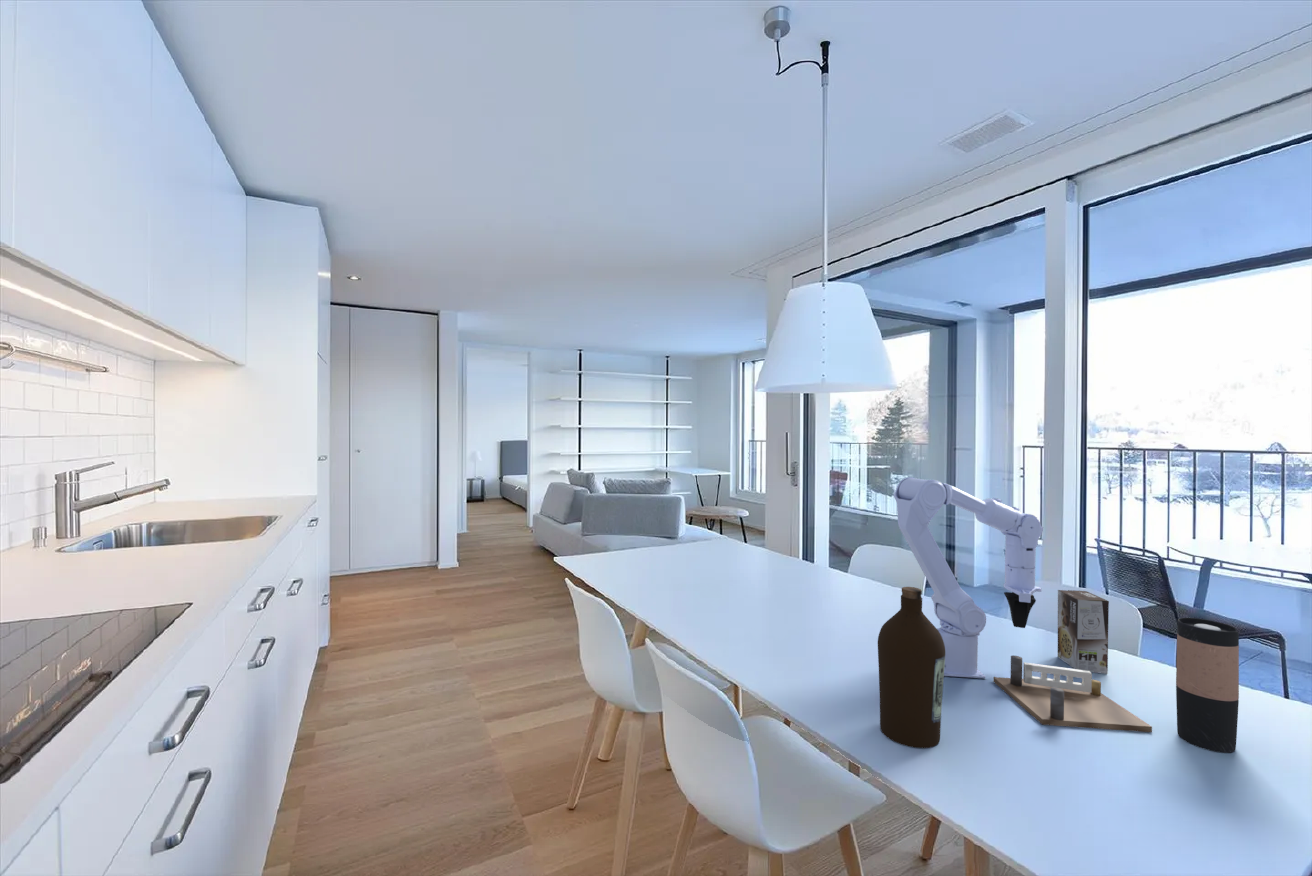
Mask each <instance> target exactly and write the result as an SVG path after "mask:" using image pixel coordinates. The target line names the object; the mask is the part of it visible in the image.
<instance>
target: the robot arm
mask: <svg viewBox="0 0 1312 876" xmlns="http://www.w3.org/2000/svg"><path fill="white" fill-rule="evenodd" d="M893 498H894V500H895V501H896V511H897V513H896V514H897V525H898V528H899V530H900V532H901V534H902V536H903V538H904V540H905V541H906V543H907V546H909V549H910V550H911V552H912V554H913V556H914V558H915V560H916V562H917V564H918V565H919V568H920V569H921V571H922V573H923V574H924V577H925V578H926V580H927V582H928V584H929V586H930V588H931V590H932V591H933V594H931V597H930V599H931V601H932V603H933V607H934V608H933V609H934V614H935V616H936V618H937V619H938V620H939V625H940V627H938V628H936V629H937V630H938V631H939V632H940V634H941V636H942V638H943V642H944V645H945V667H944V677H958V678H972V679H973V678H974V679H986V675H985V674H984V673H983V672H982V671H980V670H979V669H978V656H979V655H978V652H979V651H978V648H979V647H978V645H979V643H978V642H979V636H981V632H983V630H984V629H985V627H986V625H987V615H986V613H985V611H984V610H983V609H982V608H981V607H979V606H978V605H977V604H976V603H975V601H974V599H973V598H972V597H971V596H970V595H969V594H968V593H967V592H966V591H964V590H963V589H962V588H961V586H960V584H959V582H958V580H957V578H956V577H955V575H954V573H953V571H952V570H951V567H950V566H949V563H948V562H947V560H946V558H945V556H944V554H943V552H942V551H941V549H940V547H939V545H938V543H937V541H936V540H935V537H934V535H933V534H932V532H931V530H930V528H929V523H930V522H931V520H933V518H934V517H935V515H936V514H937V513H938V512H939V511H940V509H941V508H942V507H943V506H945V505H946V506H948V505H952V506H955V507H958V508H961V509H962V510H966V511H968V512H970V513H973V514H974V516H975V518H976V520H977V521H978V522H980V523H982V524H984V525H987V526H988V527H991V528H994V529H996V530H998V531H1000V532H1001V533H1002V535H1005V541H1004V542H1005V546H1004V547H1005V549H1004V583H1003V588H1004V589H1005V590H1008V591H1005V592H1003V594H1004V596H1005V598H1006V600H1007V604H1008V606H1009V611H1010V612H1009V613H1010V616H1011V621H1012V625H1013V627H1014V628H1020V629H1026V626H1027V623H1028V619H1029V615H1030V612H1031V611H1032V608H1033V606H1034V605H1035V603H1036V601H1037V600H1036V598H1035V595H1034V594H1035V593H1037V592H1039V593H1040V592H1042V588H1041V586H1036V550H1037V549H1036V548H1038V547H1037V546H1038V544H1039V539H1040V537H1041V536H1042V534H1043V532H1044V527H1043V526H1042V525H1041V522H1040V521H1039V519H1038V517H1036V516H1035V515H1034V514H1031V513H1025V512H1021V511H1020V508H1019V507H1016V506H1009V505H1006V504H1004V503H1002V501H1003V500H1002V499H1000V498H996V497H992V498H988V497H987V498H985V499H980V498H977V497H975V496H973V495H971V494H969V493H968V492H965V491H963V490H961V489H959V488H957V487H956V486H953V485H952V484H951V485H950V484H948V483H945V482H942V481H940V480H937V479H925V478H924V479H923V478H917V477H916V478H915V477H912V476H907V477H904V478H902V479H901V480H900V481H899V482H898V483H897V486H896V488H895V491H894V493H893Z"/></svg>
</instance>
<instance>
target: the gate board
mask: <svg viewBox="0 0 1312 876" xmlns="http://www.w3.org/2000/svg"><path fill="white" fill-rule="evenodd" d="M994 682H995V683H994ZM993 683H994V684H995V685H996V686H997V687H999V688H1000V689H1001V690H1002V691H1003V690H1004V691H1003V692H1004V693H1006V694H1007V695H1008V696H1009V697H1010V698H1011V697H1012V698H1013V701H1014V702H1016V703H1017V704H1018V705H1019V706H1020V707H1022V708H1023V710H1025V711H1026V712H1027V713H1028V714H1030V716H1032V718H1034V719H1035V720H1036V721H1038V722H1039V723H1040V724H1041V725H1042V726H1043V725H1044V726H1057V727H1071V728H1085V729H1097V730H1098V729H1099V730H1111V731H1113V730H1114V731H1130V732H1138V733H1139V732H1142V733H1153V726H1152V725H1150V724H1149V723H1147V721H1144V720H1143V719H1141V718H1140V717H1139V716H1136V715H1135V714H1134V713H1132V712H1131V711H1129V710H1128V709H1126V708H1124V707H1123V706H1121V705H1120V704H1118V703H1117V702H1115V701H1114V700H1112V699H1111V698H1110V697H1108V696H1106V695H1105V694H1103V693H1102V692H1101V691H1102V682H1101V681H1100V680H1097V679H1092V693H1090V692H1083V691H1076V690H1069V689H1062V688H1056V687H1049V686H1042V685H1035V684H1028V683H1025V682H1024V681H1023V657H1021V656H1019V655H1010V677H999V676H998V677H997V676H994V677H993ZM1078 683H1082V681H1081V682H1080V681H1078ZM1012 698H1011V699H1012Z"/></svg>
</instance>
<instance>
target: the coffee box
mask: <svg viewBox="0 0 1312 876" xmlns="http://www.w3.org/2000/svg"><path fill="white" fill-rule="evenodd" d="M1109 603H1110V601H1109V600H1108V599H1105V598H1102V597H1100V596H1098V595H1096V594H1095V593H1092V592H1089V591H1086V590H1072V589H1071V590H1070V589H1068V590H1065V589H1064V590H1063V589H1062V590H1061V589H1057V658H1059V659H1060V660H1062V661H1063V662H1064V663H1066V664H1067V665H1068V666H1069V667H1070V668H1072V669H1078V670H1086V671H1090V672H1091V673H1094V674H1096V673H1097V674H1105V675H1106V674H1108V671H1109V670H1108V667H1109V665H1108V664H1109V615H1110V614H1109V611H1110V610H1109V606H1110V604H1109Z"/></svg>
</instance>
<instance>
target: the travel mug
mask: <svg viewBox="0 0 1312 876" xmlns="http://www.w3.org/2000/svg"><path fill="white" fill-rule="evenodd" d="M1176 633H1177V634H1176V637H1177V639H1176V665H1175V668H1176V671H1175V694H1176V695H1175V696H1176V697H1175V698H1176V699H1175V700H1176V729H1177V736H1178V738H1180V739H1181V740H1183V741H1184V742H1186V743H1188V744H1190V745H1193V746H1195V747H1197V748H1201V749H1204V750H1207V751H1210V752H1216V753H1221V754H1223V753H1224V754H1229V753H1230V754H1231V753H1234V752H1235V751H1236V748H1237V738H1238V737H1237V734H1238V719H1239V716H1238V715H1239V702H1240V701H1239V698H1240V693H1239V692H1240V690H1239V689H1240V680H1239V679H1240V669H1239V667H1240V655H1239V654H1240V653H1239V651H1240V649H1239V648H1240V644H1239V643H1240V633H1239V632H1238V629H1237V628H1236V627H1235V626H1233V625H1231V624H1226V623H1224V622H1219V621H1215V620H1209V619H1205V618H1198V617H1197V618H1195V617H1180V618H1178V619H1177V631H1176Z"/></svg>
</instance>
